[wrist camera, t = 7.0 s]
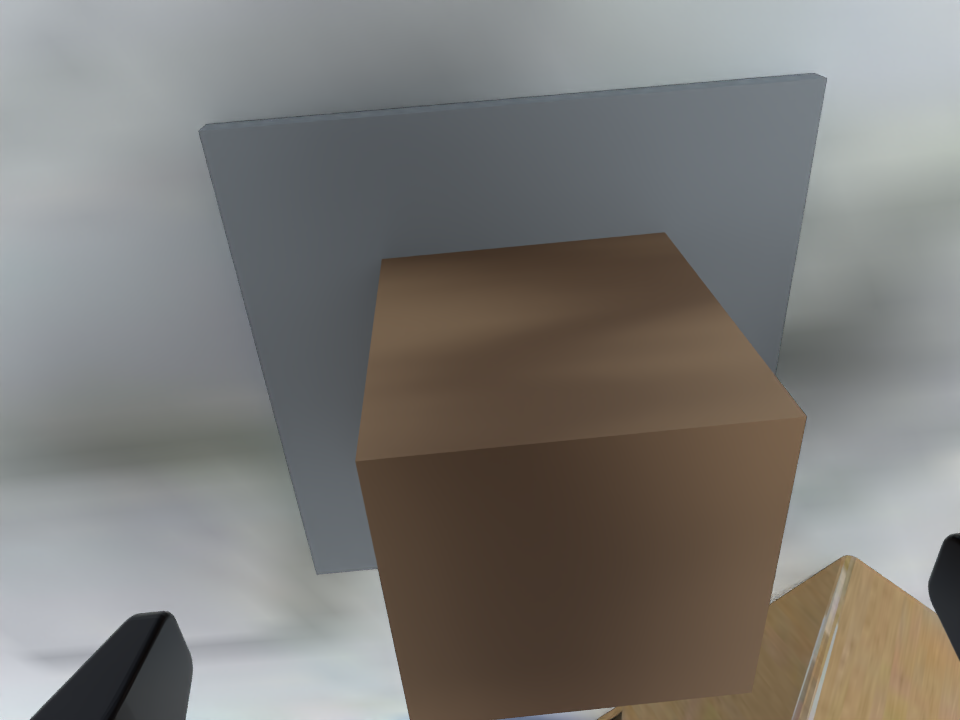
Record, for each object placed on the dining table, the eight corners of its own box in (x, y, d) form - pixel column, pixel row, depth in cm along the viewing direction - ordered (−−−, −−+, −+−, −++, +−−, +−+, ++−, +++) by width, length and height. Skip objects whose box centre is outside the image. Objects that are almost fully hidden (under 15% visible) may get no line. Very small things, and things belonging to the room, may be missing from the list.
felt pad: (814, 72, 11) (827, 77, 10) (741, 519, 15) (748, 532, 15) (205, 124, 11) (199, 131, 10) (318, 559, 15) (316, 574, 15)
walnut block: (664, 231, 11) (805, 416, 7) (651, 454, 14) (751, 692, 10) (382, 259, 11) (354, 461, 7) (415, 477, 14) (411, 728, 9)
